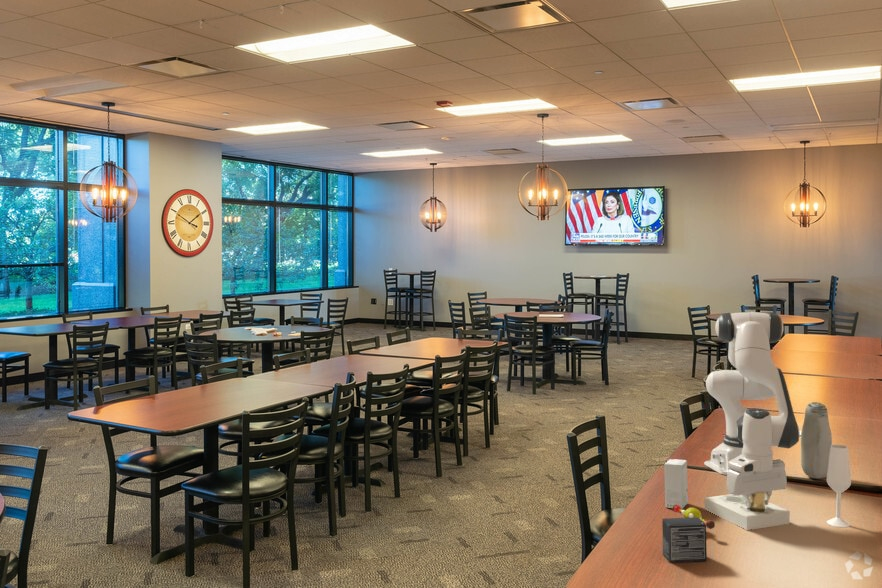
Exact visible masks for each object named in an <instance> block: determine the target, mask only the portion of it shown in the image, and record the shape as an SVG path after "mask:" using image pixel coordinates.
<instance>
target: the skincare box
mask: <svg viewBox="0 0 882 588" xmlns="http://www.w3.org/2000/svg"><path fill="white" fill-rule="evenodd" d="M688 493H689V492H688V461H687V460H686V459H676V458H669V459H668V460H666V462H665V463H664V503H665V504H664V506H665V508H669V509H672V508H673V506H674V505H676V504H677V505H679V506H680V507H681V510H684V508H685V506H686V505H688V503H689V501H688V500H689V499H688Z"/></svg>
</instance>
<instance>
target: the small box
mask: <svg viewBox="0 0 882 588" xmlns="http://www.w3.org/2000/svg"><path fill="white" fill-rule="evenodd" d="M661 520H662V522H661V523H662V527H661V528H662V555H663V557H664V558H665V559H666V560H667V562H669V563H670V564H672V563H675V564H677V563H694V562H697V563H698V562H707V561H708V556H707V555H708V554H707V550H708V549H707V546H708V545H707V527H706V523H704V522H703V521H702V520H701V519H700V518H699V517H692V518H684V517H670V518H669V517H667V518H662V519H661Z"/></svg>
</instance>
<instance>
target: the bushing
mask: <svg viewBox="0 0 882 588" xmlns="http://www.w3.org/2000/svg"><path fill="white" fill-rule="evenodd" d="M750 501H753V507H750V511H754V512H765V492H759V493H752V494H750Z"/></svg>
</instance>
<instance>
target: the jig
mask: <svg viewBox="0 0 882 588" xmlns="http://www.w3.org/2000/svg"><path fill="white" fill-rule="evenodd" d="M749 499H750V497H749ZM706 510H707V511H706ZM704 511H706V512H708V511H709V512H708V513H710V512H711V513H710V514H712V513H713V514H712V515H714V514H715V516H716V515H717V517H718V516H719V518H720V519H723V520H725V521H727V522H728V523H731V524H733V523H734V524H733V525H735V524H736V525H735V526H737V525H738V526H737V527H739V526H740V528H741V527H742V528H741V529H743V528H744V529H743V530H745V531H750V530H751V529H752V530H757V529H763V528H769V527H778V526H785V525H789V524H790V515H791V514H790V510H788V509H785V508H784V507H781V506H778V505H776V504H774V503H771V502H768V505H765V512H754V511H750V507H749V508H748V507H746V505H745V500H744V498H743V496H742V495H737V496H735V495H732V494H730V493H729V494H728V493H727V494H723V495H715V496H714V495H713V496H709V497H708V496H706V497H704Z"/></svg>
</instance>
